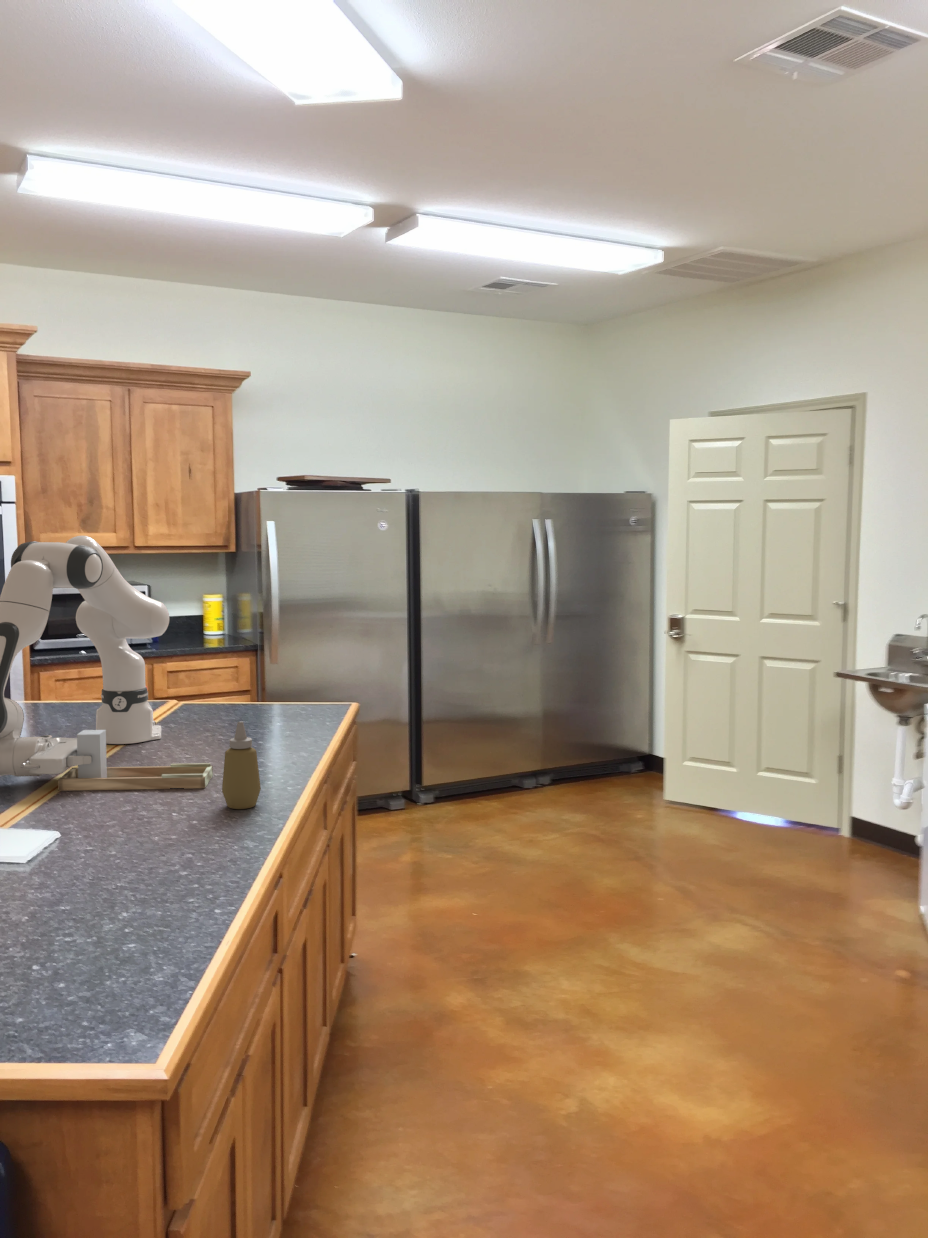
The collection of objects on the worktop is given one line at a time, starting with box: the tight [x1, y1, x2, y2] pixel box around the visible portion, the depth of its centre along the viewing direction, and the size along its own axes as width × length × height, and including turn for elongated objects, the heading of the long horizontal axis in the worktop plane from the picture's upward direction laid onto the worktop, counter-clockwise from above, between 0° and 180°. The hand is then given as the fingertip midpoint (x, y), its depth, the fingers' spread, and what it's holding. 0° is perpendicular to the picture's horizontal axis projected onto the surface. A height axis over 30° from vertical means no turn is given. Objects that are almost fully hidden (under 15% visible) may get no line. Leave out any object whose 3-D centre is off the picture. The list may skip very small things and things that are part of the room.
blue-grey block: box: [76, 729, 108, 778], centre depth 226 cm, size 5×5×12 cm
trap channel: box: [57, 762, 214, 792], centre depth 228 cm, size 11×32×3 cm, turn 95°
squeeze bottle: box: [221, 721, 262, 810], centre depth 209 cm, size 8×8×18 cm
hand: (96, 755), depth 226 cm, fingers open, 6 cm apart
